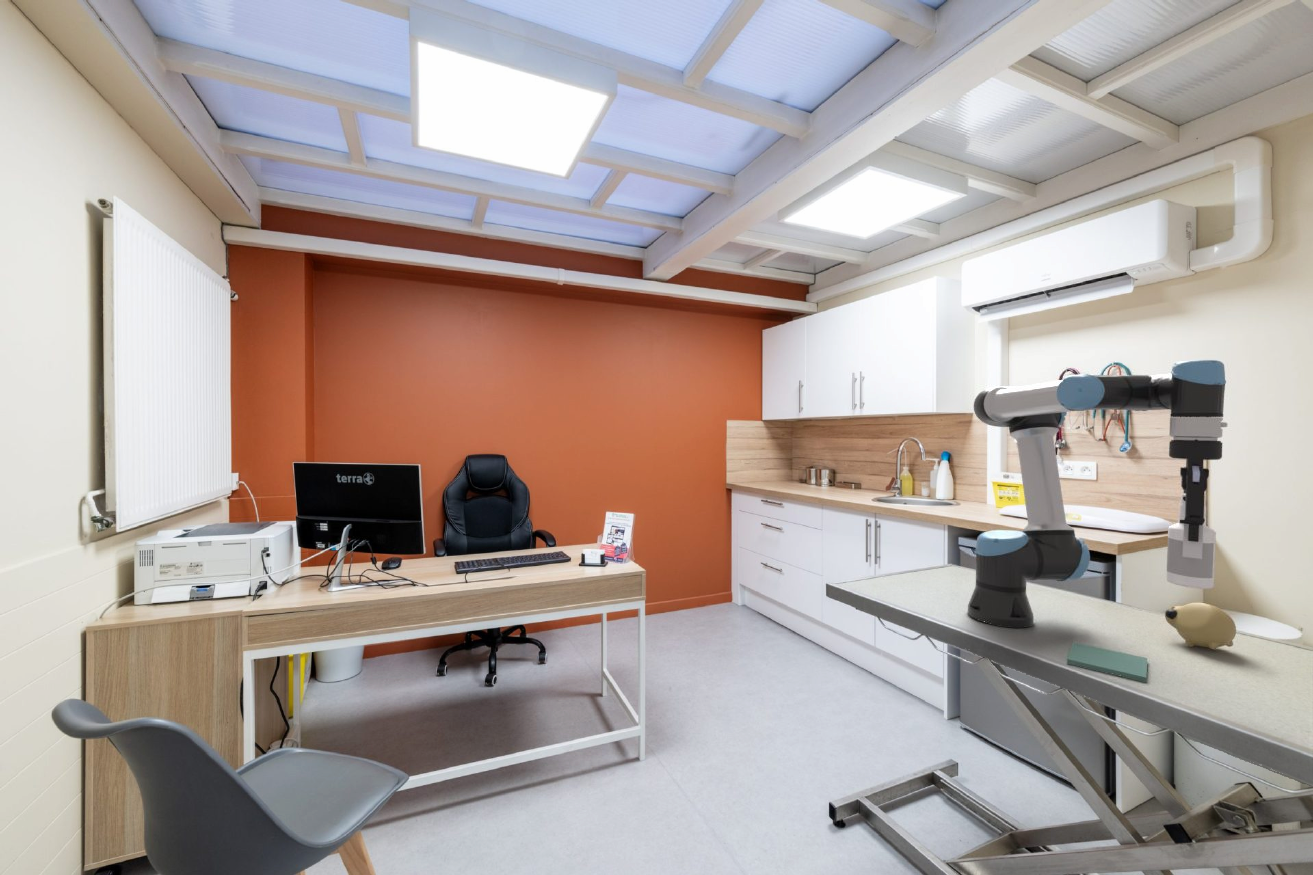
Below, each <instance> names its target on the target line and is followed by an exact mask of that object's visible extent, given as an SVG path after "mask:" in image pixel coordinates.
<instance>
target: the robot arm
mask: <svg viewBox="0 0 1313 875" xmlns="http://www.w3.org/2000/svg"><path fill="white" fill-rule="evenodd" d="M1171 368H1172V369H1171V371H1170V373H1165V374H1148V375H1147V374H1144V375H1143V374H1115V375H1114V374H1112V375H1111V374H1089V373H1083V374H1082V373H1081V374H1071V375H1067V376H1066V377H1064V378H1063V379H1061V380H1053V381H1049V382H1043V383H1042V382H1040V383H1036V384H1032V385H1031V384H1030V385H1025V386H1024V385H1023V386H1001V385H1000V386H991V387H987V388H985V389H983V390H982V391H981V392H980V393H978V394H977V395H976V397H975V399H974V401H973V412H974V414H975V416H976V417H977V418H978V420H979V421H981V422H982V423H984V424H985V425H988V426H992V427H997V428H998V427H999V428H1008V430H1009V436H1010V437H1011V438H1013V439H1014V440H1016V444H1017V452H1018V458H1019V465H1020V474H1021V481H1022V489H1023V495H1024V502H1025V510H1026V517H1027V525H1026V526H1025V527H1024V528H1023V529H1022V531H1019V530H1015V529H1014V530H1012V529H1011V530H1010V529H1009V530H1006V529H1005V530H1004V529H996V530H989V531H984V532H981V533H980V534H979V535H978V536H977V539H976V544H975V545H976V546H975V550H974V551H975V555H976V556H975V587H974V589H973V591H972V595H971V597H970V599H969V601H968V603H967V615H968V614H969V615H970V618H972V617H974V618H975V619H974V618H973V619H974V620H976V619H979V620H980V621H979V620H978V621H979V622H981V621H985V622H987V623H986V624H988V623H991V624H990V625H992V624H993V625H994V626H997V627H1005V628H1011V629H1012V628H1015V629H1020V628H1021V629H1022V628H1023V629H1024V628H1030V627H1032V626H1033V625H1034V617H1035V616H1034V613H1033V610H1032V607H1031V604H1030V601H1029V598H1028V595H1027V581H1043V582H1044V581H1045V582H1046V581H1048V582H1049V581H1050V582H1054V581H1055V582H1065V581H1075V580H1078V579H1080V578H1082V577H1083V576H1084V575H1085V573H1086V572H1087V570H1088V568H1089V567H1090V566H1089V565H1090V561H1091V555H1090V554H1091V553H1090V550H1089V547H1088V545H1087V544H1086V543H1085V541H1084V540H1083V539H1081V538H1079V537H1077V536H1076V533H1075V529H1074V528H1073V527H1072V526H1070V525H1069V524H1067V520H1066V514H1065V513H1066V512H1065V507H1064V500H1063V493H1062V486H1061V480H1060V479H1061V478H1060V473H1059V472H1060V471H1059V467H1058V460H1057V453H1056V452H1057V451H1056V446H1055V440H1054V437H1055V435H1057V433H1058V432H1060V430H1059V429H1060V428H1059V426H1061V425H1062V424H1063V423H1064V422H1065V421H1066V417H1065V416H1067V413H1069V412H1081V411H1083V412H1084V411H1093V410H1094V411H1096V410H1097V411H1099V410H1109V411H1110V410H1112V411H1113V410H1114V411H1134V412H1135V411H1136V412H1141V411H1142V412H1148V411H1163V410H1169V411H1170V416H1169V435H1168V436H1169V437H1170V438H1171V437H1172V438H1173V439H1170V441H1169V444H1168V445H1169V448H1168V449H1169V450H1168V456H1169V457H1170V458H1172V459H1179V460H1180V459H1181V460H1185V466H1184V467H1180V469H1179V471H1180V472H1179V473H1180V474H1179V475H1180V477H1181V483H1180V484H1181V488H1182V490H1183V493H1182V494H1184V493H1185V494H1186V500H1185V519H1184V520H1180V523H1182V524H1184V529H1183V557H1189V558H1197V559H1202V547H1203V524H1204V522H1205V519H1204V495H1205V492H1206V491H1207V488H1208V479H1209V477H1210V469H1208V468H1204V460H1205V461H1207V460H1208V461H1216V460H1217V461H1218V460H1221V459H1222V458H1223V442H1222V441H1221V440H1218V439H1220V438H1222V437H1223V428H1227V427H1228V423H1227V422H1225V421H1224V405H1225V404H1224V402H1225V401H1224V400H1225V388H1226V384H1227V380H1226V371H1225V364H1224V362H1222V361H1220V360H1215V359H1205V360H1204V359H1203V360H1186V361H1185V360H1184V361H1183V360H1182V361H1178V362H1175V363H1173V365H1172V367H1171ZM969 615H968V616H969ZM985 622H984V623H985ZM993 625H992V626H993Z"/></svg>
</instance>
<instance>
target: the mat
mask: <svg viewBox="0 0 1313 875" xmlns="http://www.w3.org/2000/svg"><path fill="white" fill-rule="evenodd" d="M1067 663H1068V664H1067ZM1066 664H1067V665H1072V666H1075V665H1076V667H1081V668H1084V667H1085V669H1088V670H1092V669H1093V671H1097V672H1101V671H1102V673H1105V672H1107V673H1106V674H1109V673H1113V674H1115V675H1114V676H1117V675H1121V676H1123V677H1122V678H1126V679H1130V678H1132V679H1131V680H1134V681H1138V680H1139V681H1138V682H1142V683H1147V675H1148V670H1147V669H1148V658H1147V657H1145V656H1144V657H1143V656H1140V655H1135V654H1129V653H1127V652H1121V651H1116V650H1112V649H1108V648H1102V647H1099V646H1094V645H1089V644H1085V643H1080V642H1073V643H1072V645H1071V648H1070V651H1069V654H1068V656H1067V658H1066ZM1113 674H1112V675H1113ZM1121 676H1120V677H1121Z"/></svg>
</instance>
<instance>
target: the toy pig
mask: <svg viewBox="0 0 1313 875" xmlns="http://www.w3.org/2000/svg"><path fill="white" fill-rule="evenodd" d="M1164 614H1165V616H1164V618H1165V620H1166V622H1167V623H1168V624H1169V625H1171V627H1173V628H1174V629H1175V630H1176V632H1177V633H1178V635H1179V636H1180V637H1181V638H1182V639H1183V640H1184V641H1185V642H1184V643H1185V646H1186V647H1189V648H1191V647H1194V646H1197V647H1202V648H1208V649H1209V648H1210V649H1211V650H1217V649H1218V648H1221V647H1224V646H1226V647H1229V648H1230V647H1233V646H1234V642H1233V641H1234V639H1235V638H1236V635H1237V626H1236V624H1235V621H1234V620H1233V618H1232V617H1231V616H1230V614H1228V613H1227V612H1225V611H1224V610H1223V609H1221V608H1219V607H1217V606H1214V605H1212V604H1208V603H1204V602H1190V603H1187V604H1184V605H1172V606H1171V607H1170V608H1169V609H1167V610H1166V611H1165V613H1164Z"/></svg>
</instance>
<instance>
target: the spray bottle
mask: <svg viewBox="0 0 1313 875" xmlns="http://www.w3.org/2000/svg"><path fill="white" fill-rule="evenodd" d="M1183 493H1184V492H1183ZM1183 493H1181V494H1180V502H1179V504H1178V515H1177V523H1174V524H1172V525H1169V526H1168V528H1167V548H1166V549H1167V552H1166V553H1167V554H1166V576H1165V577H1166V581H1167V582H1168V583H1170V584H1172V585H1173V584H1174V585H1176V586H1180V587H1185V588H1191V589H1201V590H1203V589H1205V590H1209V589H1213V588H1214V587H1215V586H1214V585H1215V563H1216V562H1215V561H1216V542H1217V541H1216V539H1217V538H1216V537H1217V536H1216V535H1217V531H1215V529H1213V528H1211V527H1209V526H1207V517H1206V516H1207V506H1206V501H1205V500H1206V496H1205V494H1204V519H1205V522H1204V524H1203V547H1202V559H1197V558H1189V557H1183V529H1184V524H1182V523H1180V520H1184V519H1185V500H1186V494H1185V493H1184V494H1183Z"/></svg>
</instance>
